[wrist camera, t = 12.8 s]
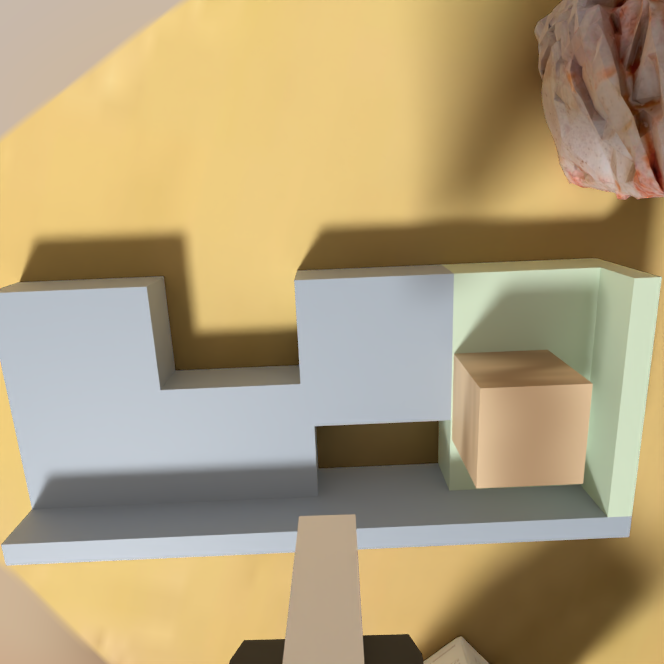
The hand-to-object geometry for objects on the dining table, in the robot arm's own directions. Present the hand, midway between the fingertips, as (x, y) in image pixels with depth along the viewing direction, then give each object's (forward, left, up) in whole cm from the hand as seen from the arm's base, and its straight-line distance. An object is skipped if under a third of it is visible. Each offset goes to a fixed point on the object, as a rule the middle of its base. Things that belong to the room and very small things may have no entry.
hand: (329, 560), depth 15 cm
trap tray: (+1, 0, -12) cm, 12 cm away
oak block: (-7, -1, -10) cm, 12 cm away
